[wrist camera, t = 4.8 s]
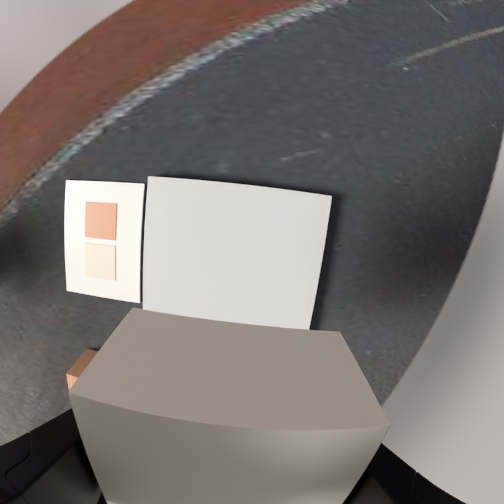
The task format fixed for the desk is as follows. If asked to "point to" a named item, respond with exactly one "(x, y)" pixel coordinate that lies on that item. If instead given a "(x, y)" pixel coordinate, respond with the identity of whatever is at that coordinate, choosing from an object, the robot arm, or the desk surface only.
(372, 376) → the desk surface
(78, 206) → the page
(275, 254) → the baseplate
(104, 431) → the brick ivory
